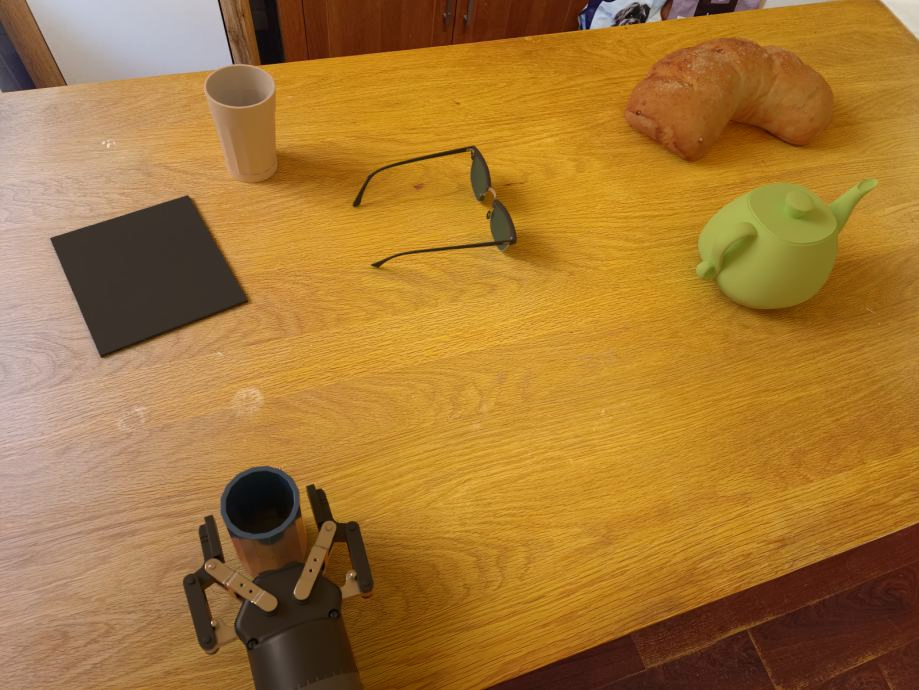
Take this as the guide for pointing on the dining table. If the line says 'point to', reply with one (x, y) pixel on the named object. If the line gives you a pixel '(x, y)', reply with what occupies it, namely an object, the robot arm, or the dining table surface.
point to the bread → (729, 96)
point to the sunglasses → (481, 185)
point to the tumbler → (264, 519)
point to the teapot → (775, 243)
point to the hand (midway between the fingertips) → (260, 503)
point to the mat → (146, 274)
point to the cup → (244, 119)
